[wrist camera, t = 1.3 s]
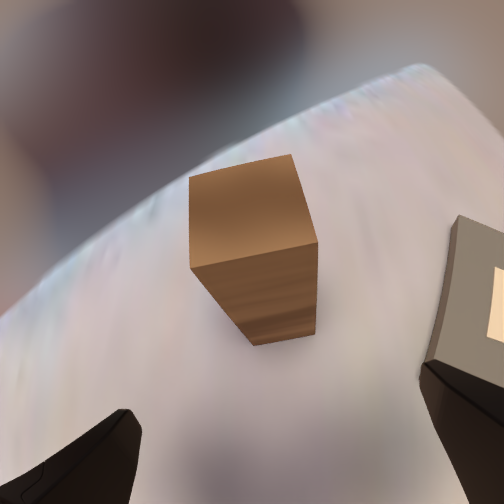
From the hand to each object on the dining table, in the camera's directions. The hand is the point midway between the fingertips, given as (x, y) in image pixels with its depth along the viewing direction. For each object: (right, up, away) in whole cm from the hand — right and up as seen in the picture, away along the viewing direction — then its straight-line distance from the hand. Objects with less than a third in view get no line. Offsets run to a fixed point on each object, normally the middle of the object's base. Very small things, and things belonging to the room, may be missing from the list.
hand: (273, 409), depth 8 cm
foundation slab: (+21, -1, +10) cm, 23 cm away
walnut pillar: (+1, 0, +15) cm, 15 cm away
